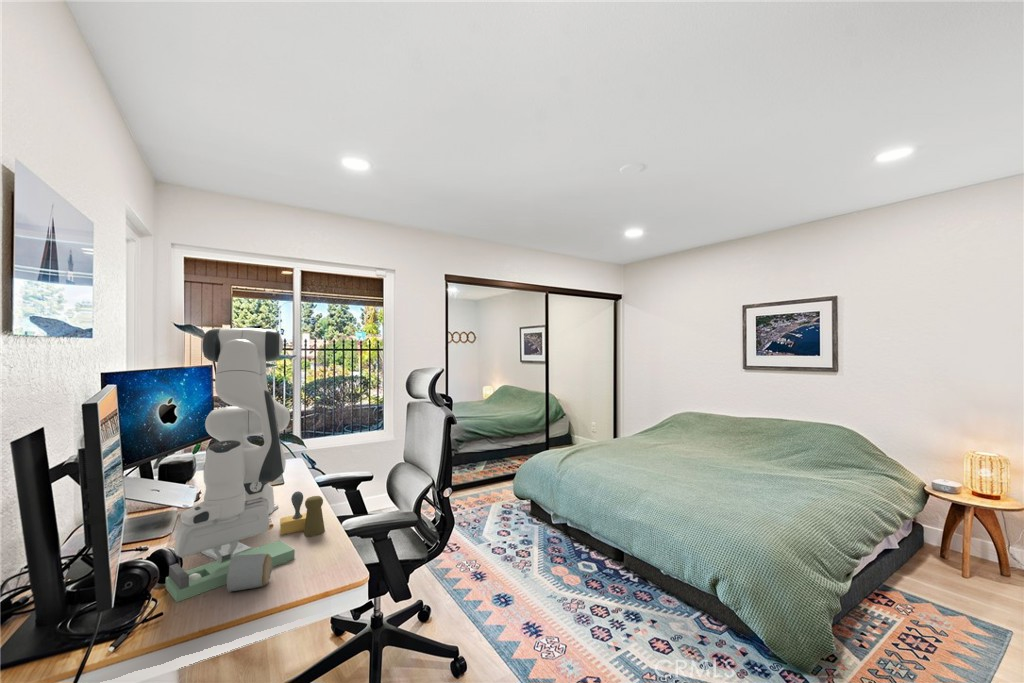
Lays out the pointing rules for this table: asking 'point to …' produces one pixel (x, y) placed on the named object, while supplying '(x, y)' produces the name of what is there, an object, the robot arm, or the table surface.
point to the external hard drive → (225, 548)
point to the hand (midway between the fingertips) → (225, 561)
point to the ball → (194, 576)
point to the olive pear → (314, 516)
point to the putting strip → (218, 571)
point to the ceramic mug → (248, 571)
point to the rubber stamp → (294, 517)
